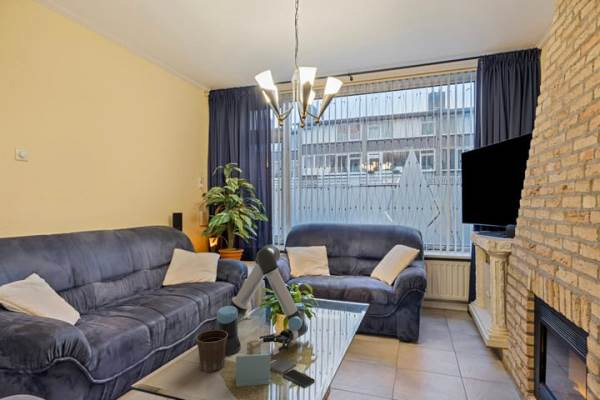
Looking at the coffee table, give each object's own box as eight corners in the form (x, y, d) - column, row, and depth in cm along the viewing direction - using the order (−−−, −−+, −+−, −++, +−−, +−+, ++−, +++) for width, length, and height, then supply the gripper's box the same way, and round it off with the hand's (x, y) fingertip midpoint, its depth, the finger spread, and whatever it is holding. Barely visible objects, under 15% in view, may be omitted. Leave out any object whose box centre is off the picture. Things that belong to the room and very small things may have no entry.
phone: (304, 386, 158) (282, 374, 169) (304, 389, 158) (282, 377, 169) (315, 379, 164) (293, 368, 174) (315, 382, 164) (293, 370, 174)
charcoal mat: (266, 367, 177) (266, 365, 177) (279, 359, 186) (279, 357, 186) (282, 374, 171) (282, 372, 171) (296, 365, 179) (296, 363, 179)
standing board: (236, 380, 165) (236, 353, 165) (269, 378, 167) (269, 351, 167) (235, 386, 160) (235, 358, 160) (270, 383, 162) (270, 356, 162)
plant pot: (190, 373, 171) (190, 341, 171) (203, 358, 187) (203, 328, 187) (221, 375, 169) (221, 343, 169) (232, 360, 185) (232, 330, 185)
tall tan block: (246, 369, 175) (246, 342, 175) (253, 365, 180) (253, 338, 179) (253, 372, 172) (253, 344, 172) (260, 368, 177) (260, 341, 176)
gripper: (306, 347, 191) (282, 362, 174) (272, 336, 206) (247, 349, 189) (306, 333, 191) (282, 347, 174) (272, 323, 206) (247, 335, 189)
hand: (263, 348), depth 181 cm, fingers open, 13 cm apart
